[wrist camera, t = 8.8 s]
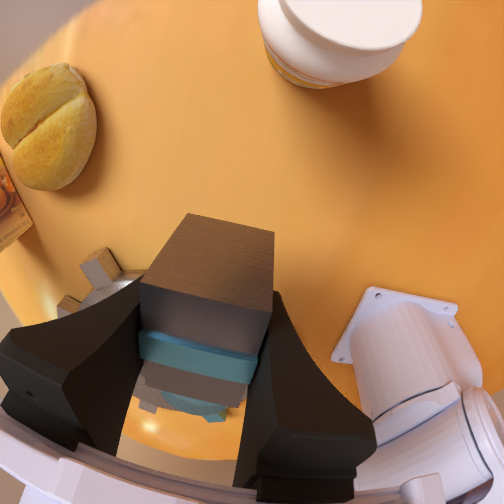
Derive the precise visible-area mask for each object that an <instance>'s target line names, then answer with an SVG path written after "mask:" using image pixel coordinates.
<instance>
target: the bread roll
mask: <svg viewBox="0 0 504 504" xmlns="http://www.w3.org/2000/svg"><path fill="white" fill-rule="evenodd" d="M1 131H2V135H3V137H4V139H5V140H6V142H7V143H8V144H9V145H10V146H11V147H12V149H13V150H14V151H13V165H14V170H15V173H16V175H17V177H18V178H19V179H20V180H21V182H22V183H23V184H24V185H26V186H27V187H29V188H31V189H35V190H40V191H53V190H58V189H60V188H63V187H64V186H66V185H68V184H69V183H71V182H72V181H73V180H75V178H76V177H77V176H78V175H79V174H80V172H81V171H82V169H83V168H84V166H85V165H86V163H87V161H88V159H89V157H90V155H91V152H92V149H93V146H94V143H95V138H96V132H97V119H96V112H95V107H94V104H93V101H92V100H91V98H90V96H89V95H88V92H87V87H86V83H85V81H84V79H83V78H82V76H81V75H80V73H79V72H78V71H77V70H76V69H75V68H73V67H72V66H70V65H69V64H67V63H57V64H51V65H50V66H49V67H44V68H41V69H39V70H36V71H33V72H31V73H30V74H27V75H25V76H24V77H23V79H22V80H20V81H19V82H18V83H17V84H16V85H15V86H14V87H13V88H12V89H11V91H10V93H9V94H8V96H7V98H6V100H5V103H4V105H3V108H2V114H1Z"/></svg>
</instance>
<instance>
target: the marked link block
mask: <svg viewBox="0 0 504 504" xmlns="http://www.w3.org/2000/svg"><path fill="white" fill-rule="evenodd" d="M273 271H274V232H272V231H267V230H263V229H258V228H254V227H250V226H245V225H241V224H236V223H232V222H227V221H223V220H218V219H213V218H209V217H204V216H200V215H195V214H190V213H188V214H187V215H186V216H185V218H184V219H183V220H182V222H181V223H180V224H179V226H178V227H177V229H176V230H175V231H174V233H173V234H172V236H171V237H170V238H169V240H168V241H167V243H166V244H165V245H164V247H163V248H162V250H161V251H160V253H159V254H158V256H157V257H156V258H155V260H154V261H153V263H152V264H151V266H150V267H149V269H148V270H147V272H146V273H145V275H144V276H143V278H142V279H141V281H140V313H141V329H140V331H139V333H138V339H139V352H140V358H142V359H143V363H144V374H145V384H146V386H149V387H152V388H155V389H159V390H162V391H166V392H170V393H173V394H177V395H181V396H185V397H189V398H193V399H197V400H201V401H206V402H210V403H215V404H220V405H225V406H230V407H235V408H238V407H239V405H240V402H241V399H242V397H243V394H244V391H245V389H246V386H247V384H249V385H250V382H251V379H252V376H253V374H254V371H255V368H256V366H257V363H258V358H257V355H258V352H259V350H260V347H261V344H262V341H263V338H264V335H265V332H266V329H267V326H268V324H269V321H270V318H271V315H272V303H273Z"/></svg>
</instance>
